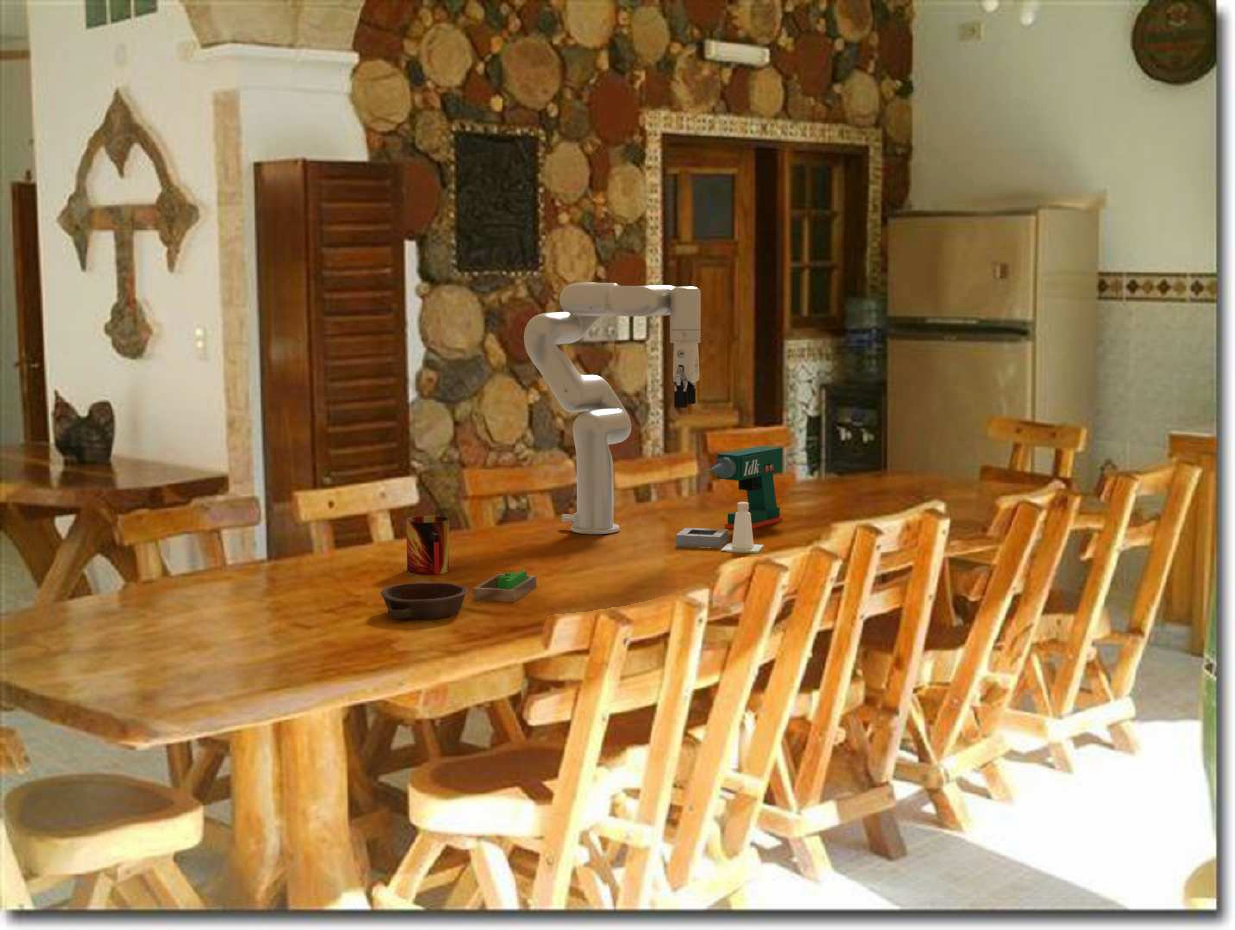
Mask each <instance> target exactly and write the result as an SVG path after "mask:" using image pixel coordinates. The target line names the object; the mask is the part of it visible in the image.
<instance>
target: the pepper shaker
mask: <svg viewBox="0 0 1235 930" xmlns="http://www.w3.org/2000/svg"><path fill="white" fill-rule="evenodd" d="M736 504H737V511H738V512H737V513H736V514H735V522H734V529H733V531H732V532H733V534H732V541H731V543H732V547H733V548H737V549H748V548H752V547H753V546H754V545H753V544H754V537H753V528H752V524H751V514H750V512H748V509H749V503H748V501H739V502H737V503H736Z"/></svg>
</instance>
